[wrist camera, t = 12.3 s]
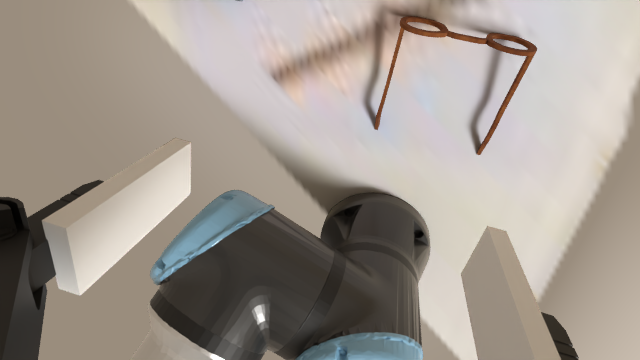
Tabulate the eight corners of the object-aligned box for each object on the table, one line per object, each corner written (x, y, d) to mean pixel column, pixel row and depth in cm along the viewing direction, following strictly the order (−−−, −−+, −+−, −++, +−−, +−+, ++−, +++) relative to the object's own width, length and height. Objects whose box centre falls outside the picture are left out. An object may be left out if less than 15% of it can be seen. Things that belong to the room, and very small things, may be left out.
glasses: (530, 39, 36) (547, 45, 31) (479, 153, 42) (488, 171, 38) (402, 13, 37) (401, 16, 33) (372, 127, 43) (368, 142, 39)
